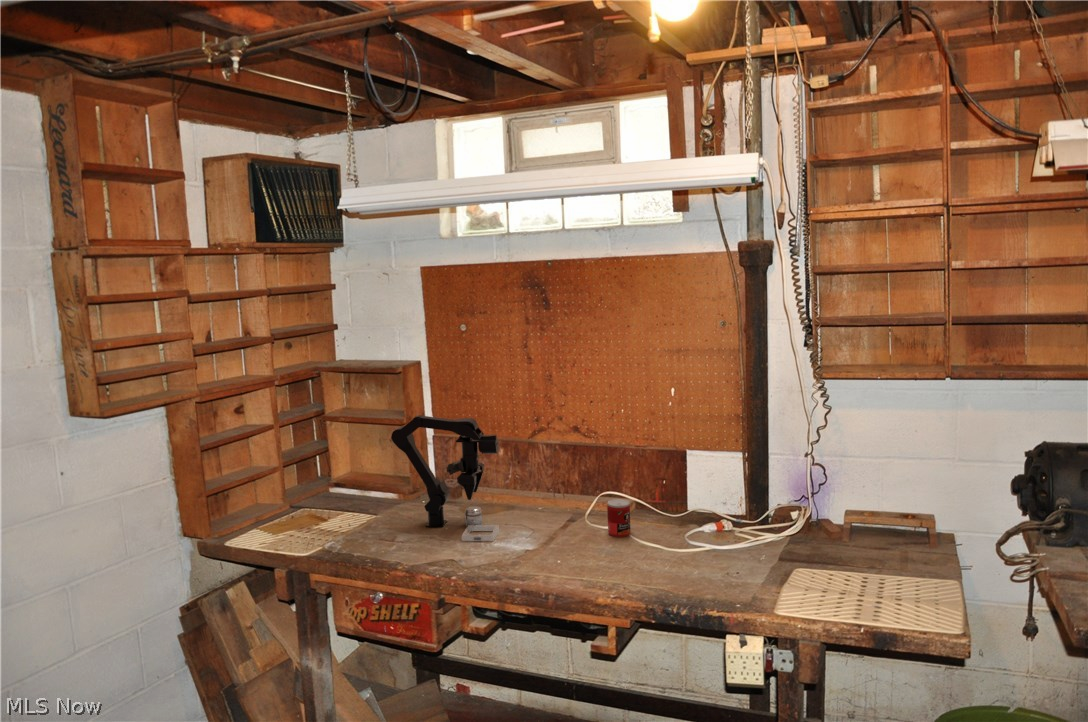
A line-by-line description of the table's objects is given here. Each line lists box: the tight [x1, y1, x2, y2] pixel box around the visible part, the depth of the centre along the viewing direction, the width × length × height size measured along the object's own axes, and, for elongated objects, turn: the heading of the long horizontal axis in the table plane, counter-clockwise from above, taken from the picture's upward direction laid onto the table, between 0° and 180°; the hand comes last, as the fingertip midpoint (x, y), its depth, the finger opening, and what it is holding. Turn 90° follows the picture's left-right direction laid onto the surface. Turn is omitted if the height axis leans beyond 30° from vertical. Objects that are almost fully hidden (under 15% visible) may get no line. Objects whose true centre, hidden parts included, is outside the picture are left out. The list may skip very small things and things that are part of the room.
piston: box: [464, 506, 483, 528], centre depth 290 cm, size 6×6×6 cm
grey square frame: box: [461, 524, 500, 542], centre depth 277 cm, size 12×11×2 cm
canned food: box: [606, 498, 631, 538], centre depth 274 cm, size 8×8×11 cm
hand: (472, 495), depth 289 cm, fingers open, 9 cm apart
